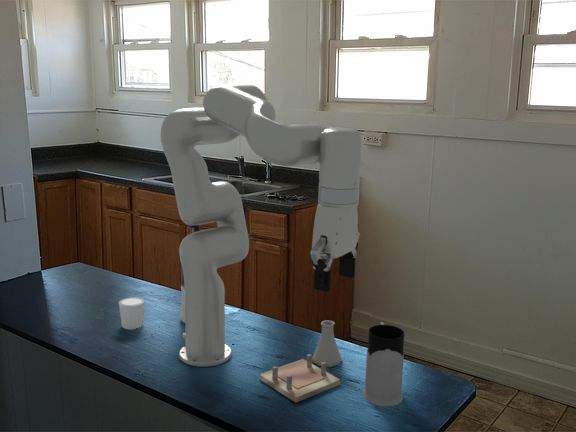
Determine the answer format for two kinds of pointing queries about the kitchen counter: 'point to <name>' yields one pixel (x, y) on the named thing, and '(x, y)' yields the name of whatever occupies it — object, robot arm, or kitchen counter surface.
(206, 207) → the robot arm
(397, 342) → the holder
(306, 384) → the four-post base plate
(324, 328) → the flask
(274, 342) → the kitchen counter surface
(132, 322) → the white tapered cylinder
